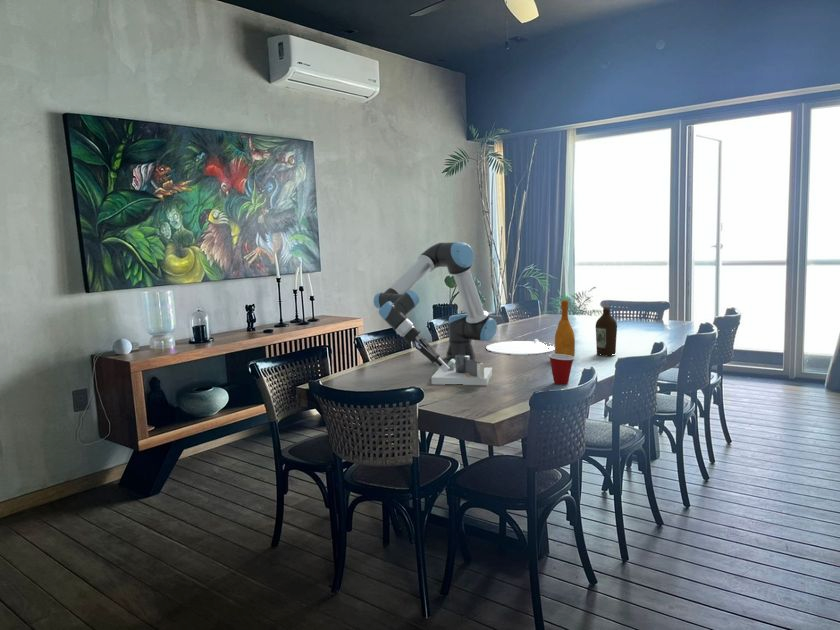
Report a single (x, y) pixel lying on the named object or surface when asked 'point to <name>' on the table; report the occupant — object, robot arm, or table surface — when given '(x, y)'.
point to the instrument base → (459, 376)
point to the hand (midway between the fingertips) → (447, 370)
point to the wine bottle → (564, 334)
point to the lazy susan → (520, 347)
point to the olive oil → (606, 333)
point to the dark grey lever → (469, 366)
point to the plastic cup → (561, 367)
